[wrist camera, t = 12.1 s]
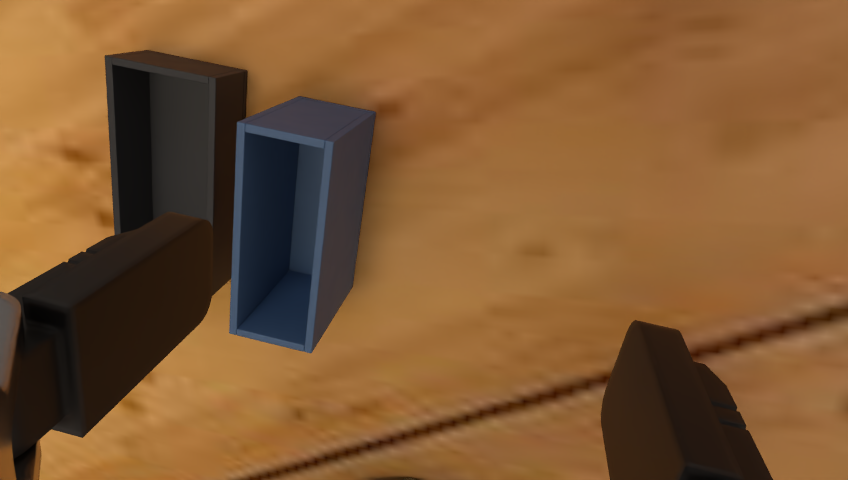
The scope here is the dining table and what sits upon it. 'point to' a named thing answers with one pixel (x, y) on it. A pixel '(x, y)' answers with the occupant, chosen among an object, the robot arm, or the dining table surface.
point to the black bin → (175, 143)
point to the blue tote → (297, 218)
